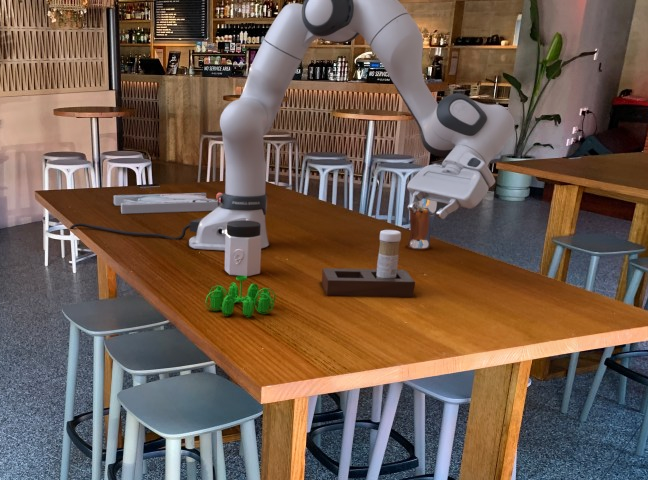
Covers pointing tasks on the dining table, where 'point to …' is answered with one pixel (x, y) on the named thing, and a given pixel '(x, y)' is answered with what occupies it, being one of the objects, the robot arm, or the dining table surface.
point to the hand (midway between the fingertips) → (424, 213)
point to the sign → (165, 203)
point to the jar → (243, 248)
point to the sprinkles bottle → (388, 254)
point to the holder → (366, 283)
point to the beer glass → (422, 224)
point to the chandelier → (240, 299)
